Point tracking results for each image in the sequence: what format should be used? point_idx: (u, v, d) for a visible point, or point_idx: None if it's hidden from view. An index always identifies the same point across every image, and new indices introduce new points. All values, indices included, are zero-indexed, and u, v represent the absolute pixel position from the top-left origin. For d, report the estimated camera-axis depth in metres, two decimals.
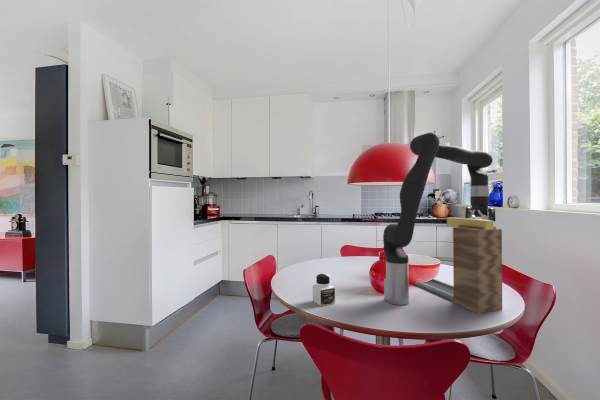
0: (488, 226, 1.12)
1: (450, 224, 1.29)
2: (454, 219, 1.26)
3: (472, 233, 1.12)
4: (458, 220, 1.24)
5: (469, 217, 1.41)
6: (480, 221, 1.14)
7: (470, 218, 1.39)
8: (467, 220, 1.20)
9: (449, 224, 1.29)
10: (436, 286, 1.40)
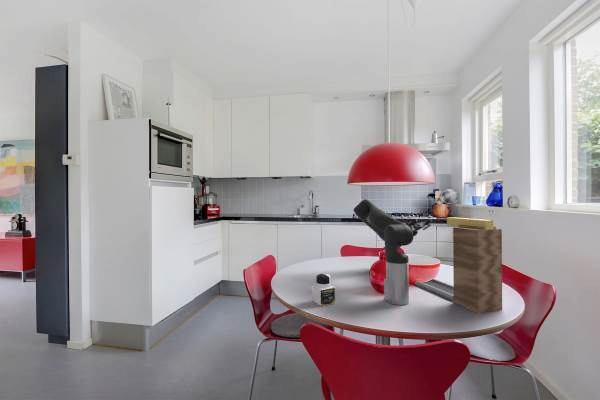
0: (488, 226, 1.12)
1: (450, 224, 1.29)
2: (454, 219, 1.26)
3: (472, 233, 1.12)
4: (458, 220, 1.24)
5: None
6: (480, 221, 1.14)
7: None
8: (467, 220, 1.20)
9: (449, 224, 1.29)
10: (436, 286, 1.40)
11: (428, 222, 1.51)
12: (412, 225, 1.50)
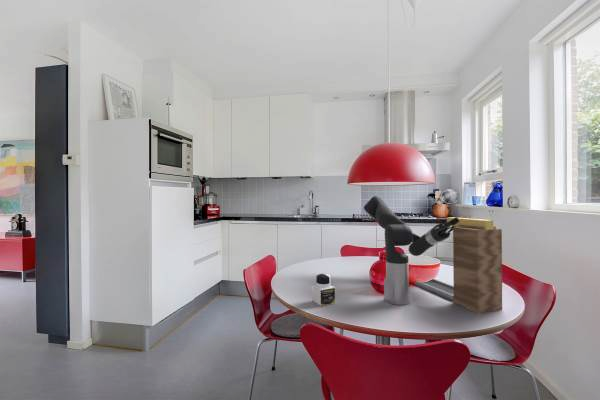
0: (488, 226, 1.12)
1: None
2: None
3: (472, 233, 1.12)
4: None
5: None
6: (480, 221, 1.14)
7: None
8: (467, 220, 1.20)
9: None
10: (436, 286, 1.40)
11: None
12: (452, 224, 1.27)
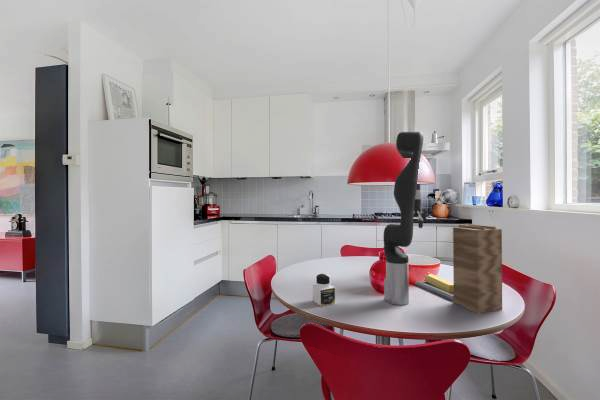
0: (451, 290, 1.30)
1: None
2: None
3: (472, 233, 1.12)
4: (428, 277, 1.43)
5: None
6: (445, 284, 1.32)
7: None
8: (435, 280, 1.38)
9: None
10: None
11: (419, 224, 1.58)
12: None
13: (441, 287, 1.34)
